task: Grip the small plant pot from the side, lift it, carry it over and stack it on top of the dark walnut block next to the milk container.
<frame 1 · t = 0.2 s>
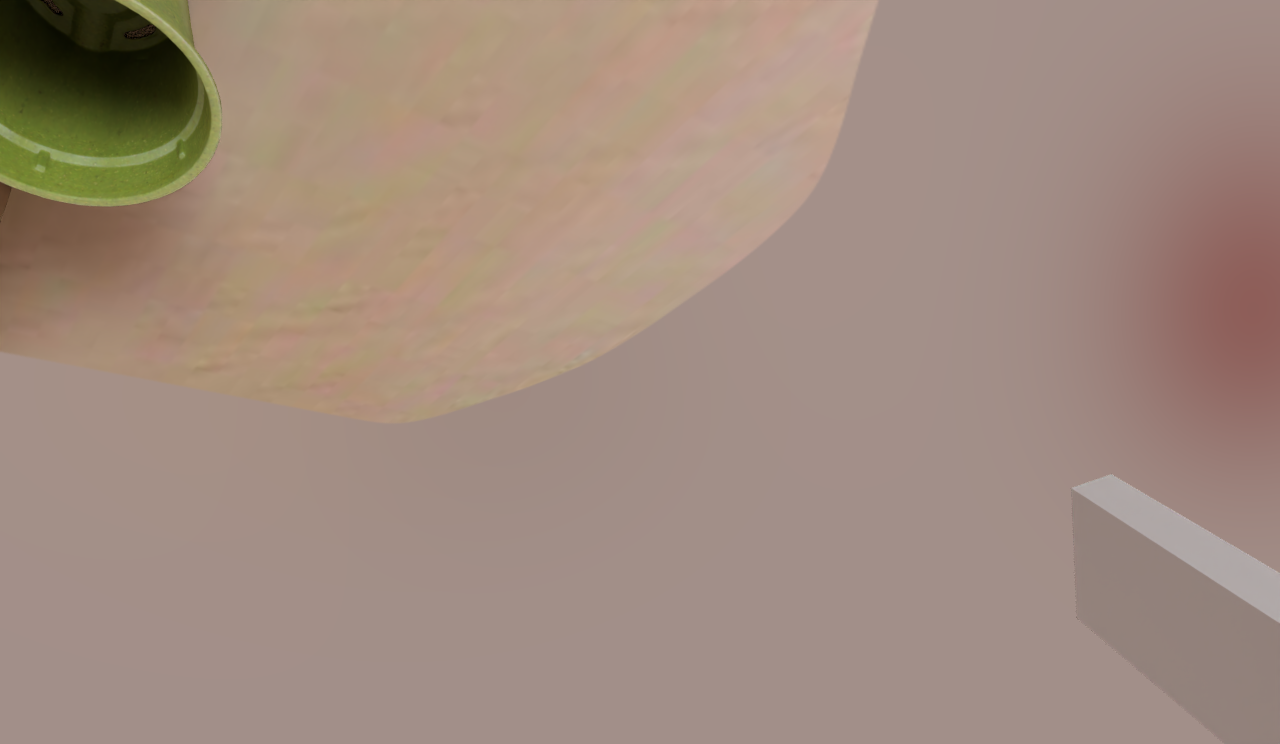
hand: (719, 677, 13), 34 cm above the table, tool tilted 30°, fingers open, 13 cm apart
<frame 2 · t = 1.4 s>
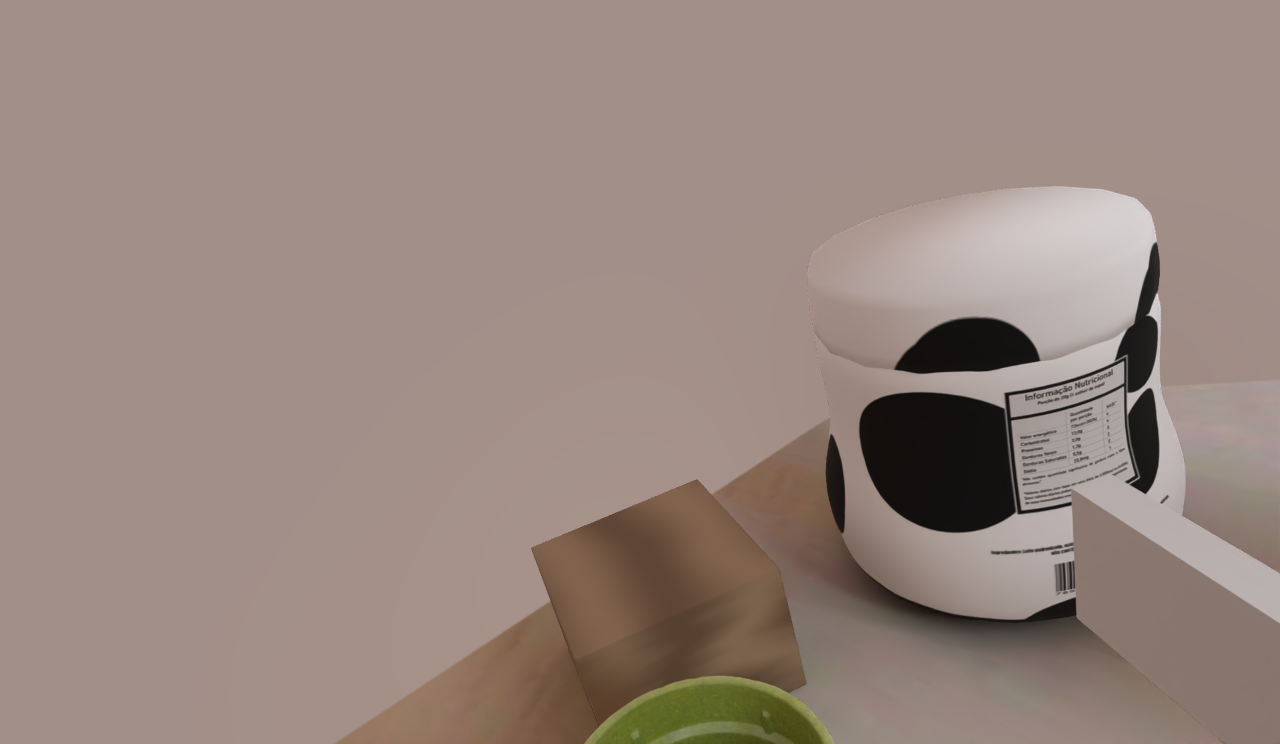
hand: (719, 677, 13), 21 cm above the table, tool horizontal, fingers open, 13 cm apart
walnut block: (677, 663, 43), on the table
milk container: (999, 546, 46), on the table
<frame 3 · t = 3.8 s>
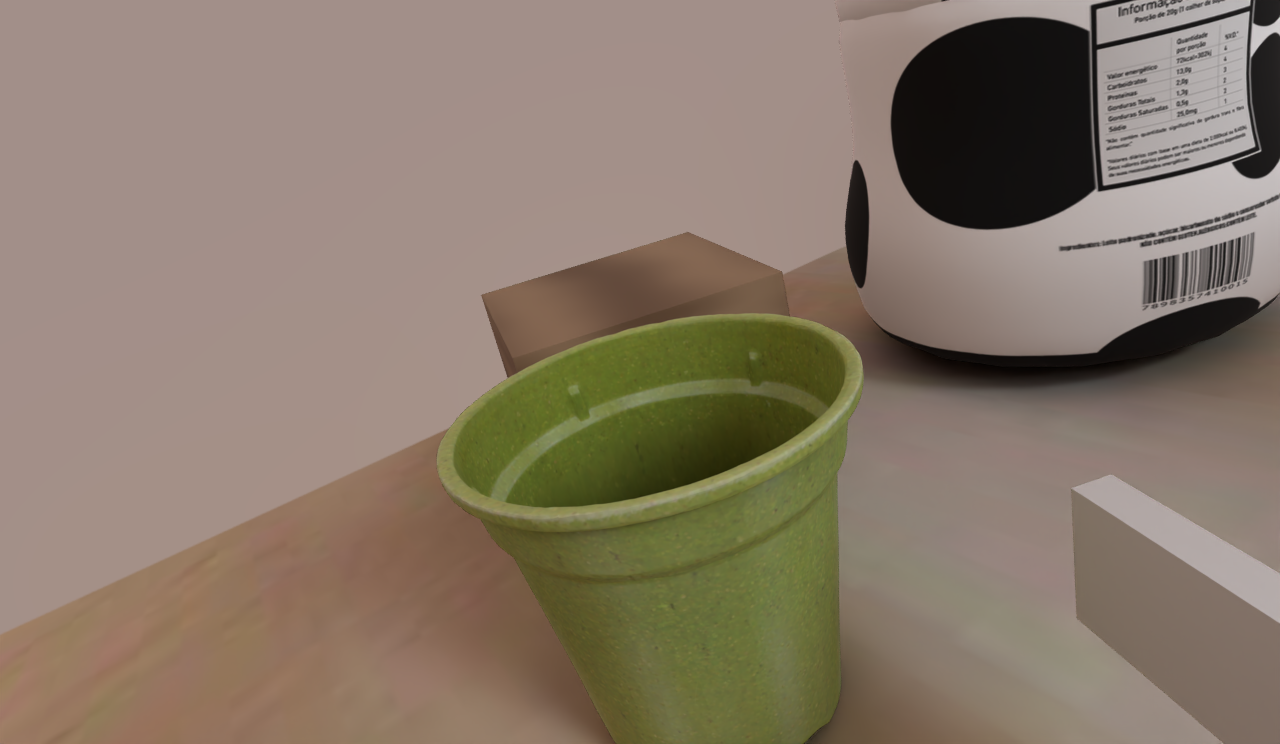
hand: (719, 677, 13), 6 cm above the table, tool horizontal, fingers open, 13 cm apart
walnut block: (653, 437, 35), on the table
milk container: (1056, 321, 37), on the table
plant pot: (720, 697, 21), on the table
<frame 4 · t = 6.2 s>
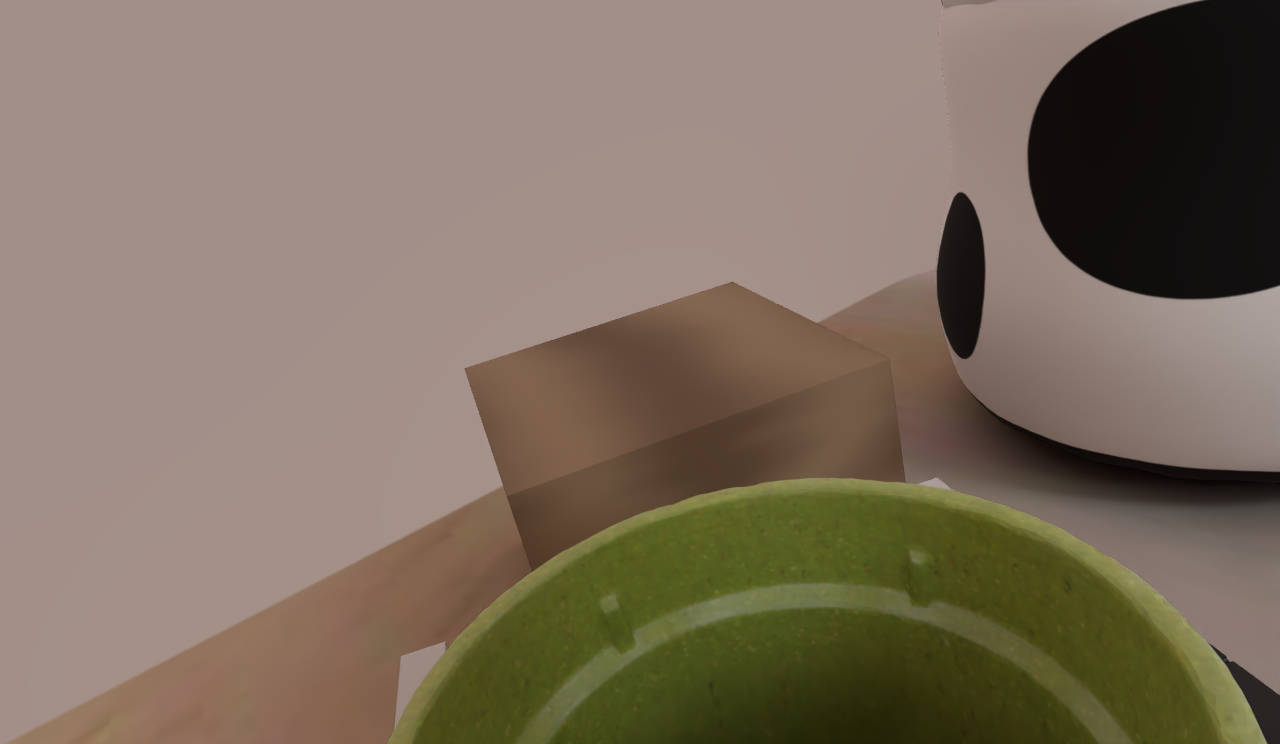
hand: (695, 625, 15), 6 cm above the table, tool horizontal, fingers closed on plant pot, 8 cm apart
walnut block: (694, 558, 27), on the table
milk container: (1212, 398, 29), on the table
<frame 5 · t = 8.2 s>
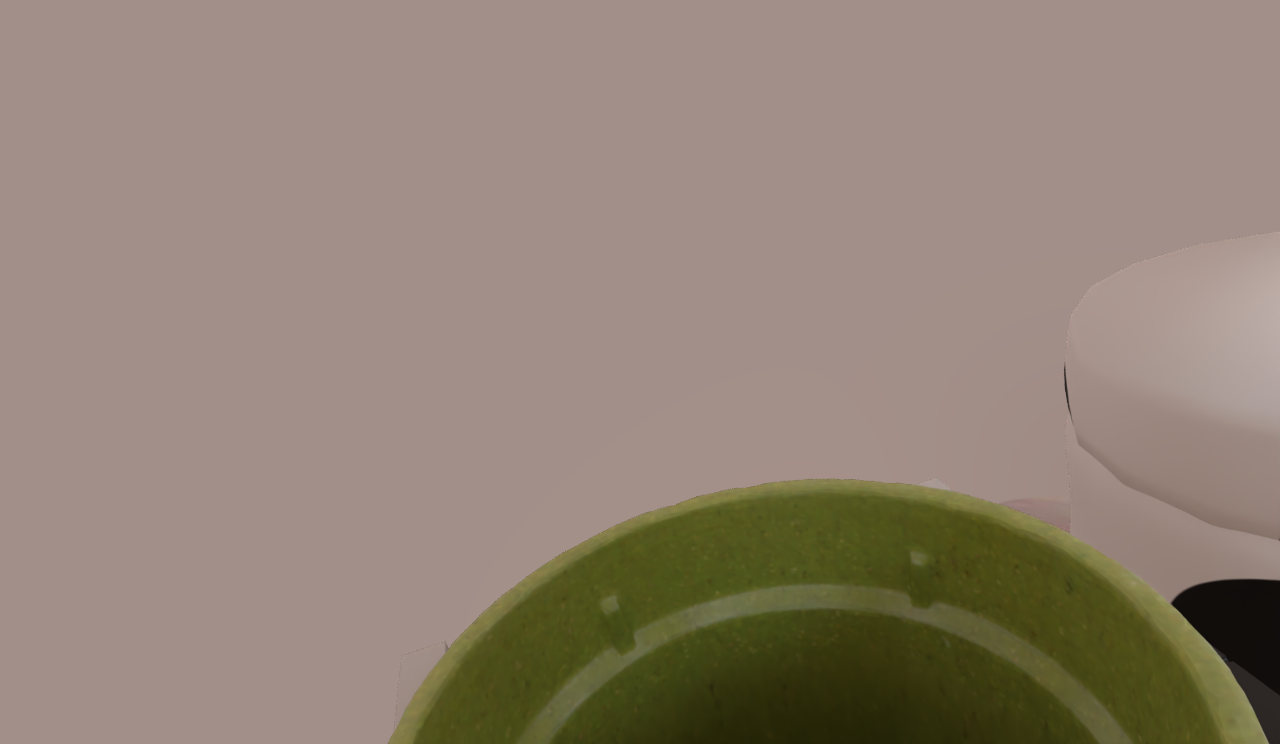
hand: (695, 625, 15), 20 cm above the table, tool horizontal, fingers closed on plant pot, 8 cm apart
when the fingers open (14 cm above the table, at t = 10.6 s): plant pot drops 1 cm, resting on walnut block.
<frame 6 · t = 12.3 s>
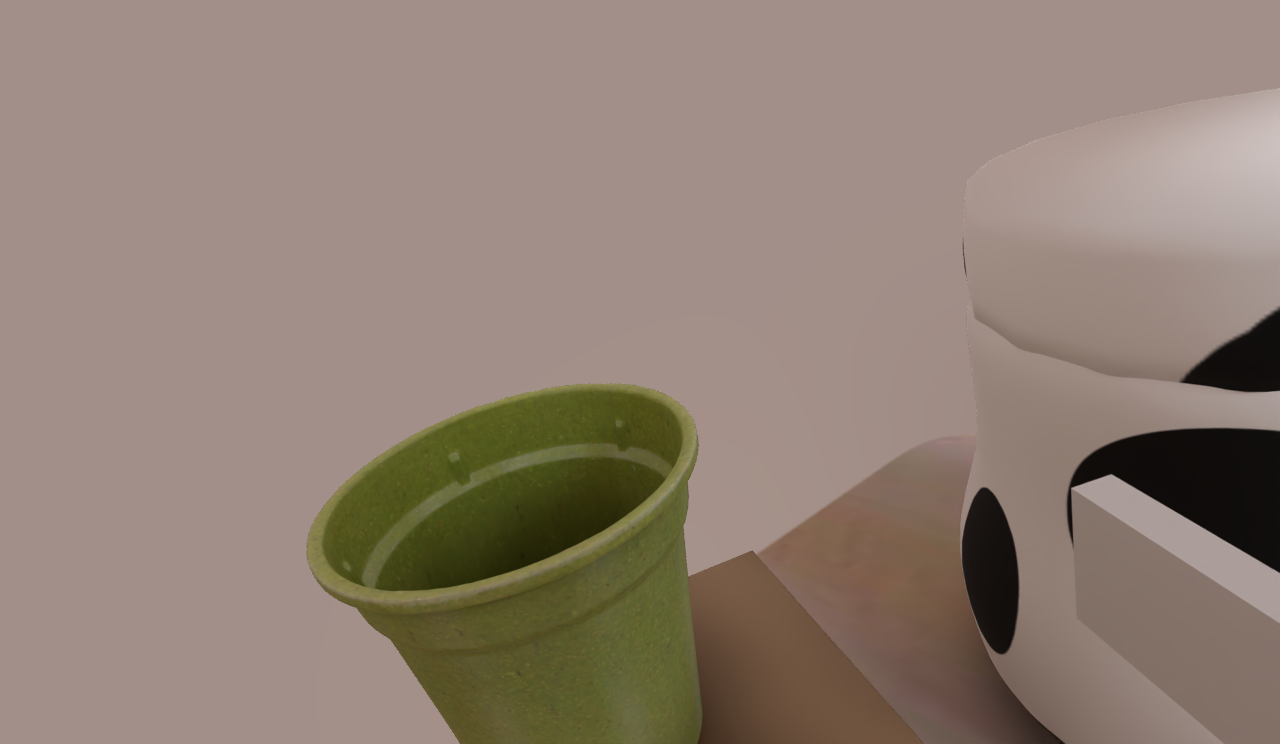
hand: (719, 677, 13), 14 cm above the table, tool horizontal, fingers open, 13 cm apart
milk container: (1243, 674, 28), on the table
plant pot: (595, 742, 23), point 7 cm above the table, touching walnut block
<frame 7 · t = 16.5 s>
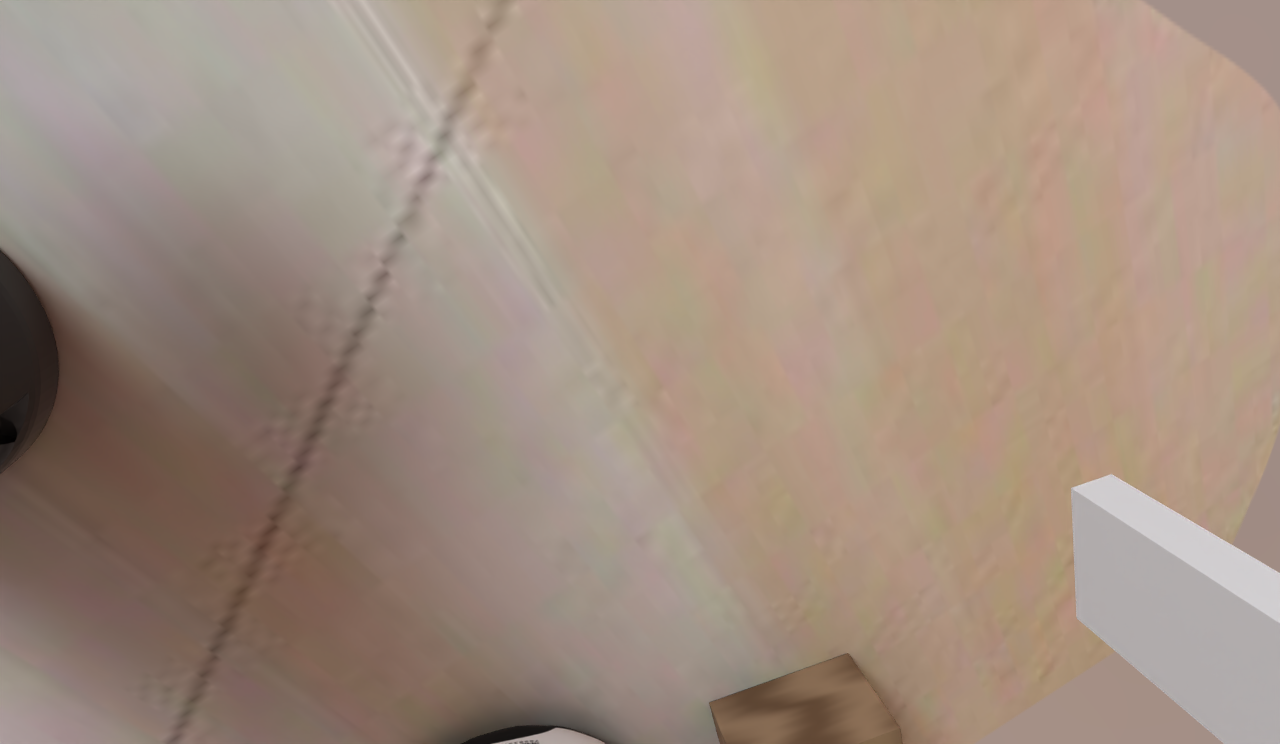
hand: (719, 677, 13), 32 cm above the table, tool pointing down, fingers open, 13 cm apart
walnut block: (791, 733, 57), on the table
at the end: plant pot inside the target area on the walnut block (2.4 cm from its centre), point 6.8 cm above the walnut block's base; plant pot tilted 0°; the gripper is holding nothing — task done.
